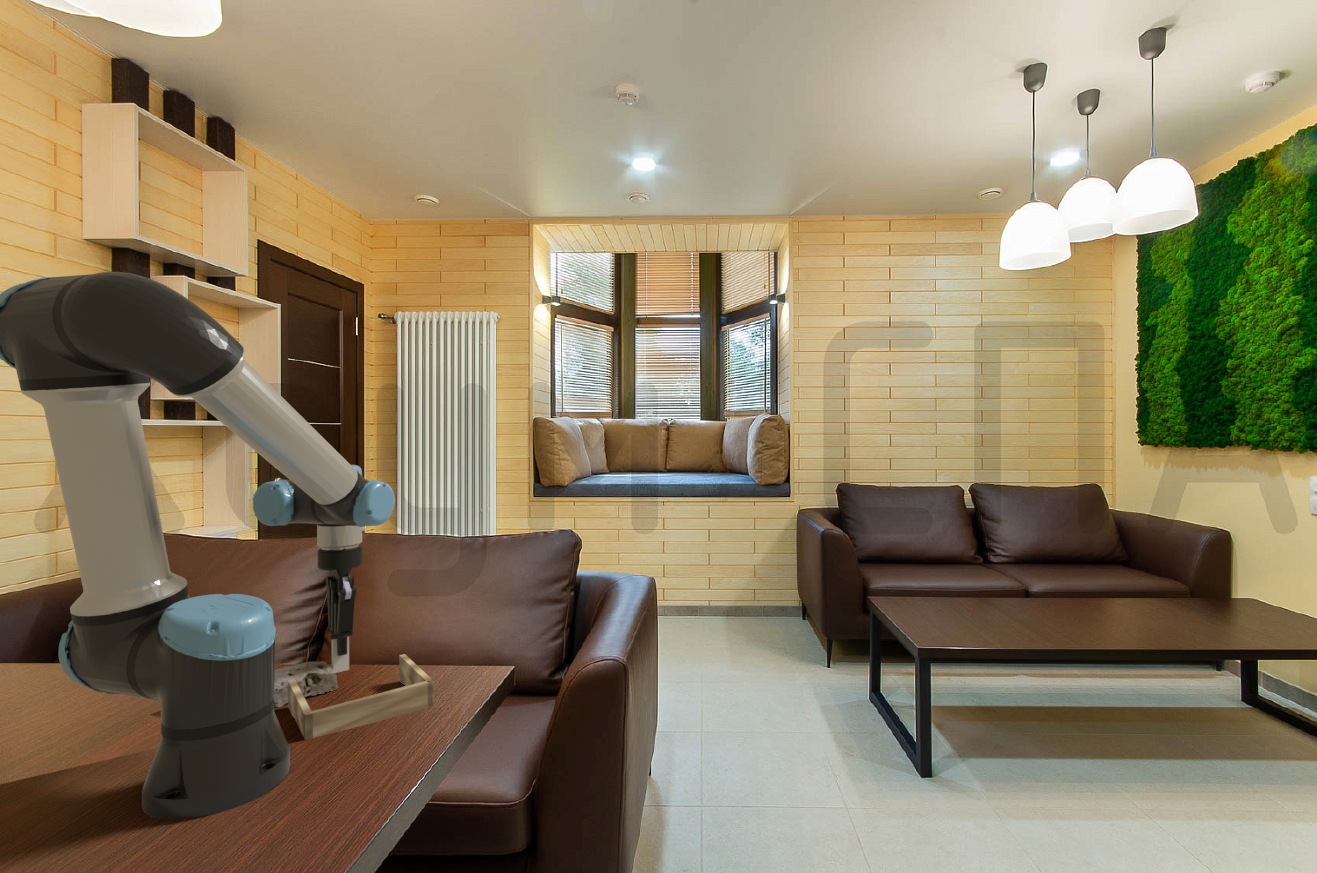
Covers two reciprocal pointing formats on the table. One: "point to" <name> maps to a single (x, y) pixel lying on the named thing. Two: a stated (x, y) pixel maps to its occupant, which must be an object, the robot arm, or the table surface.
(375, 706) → the bracket
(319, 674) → the stone
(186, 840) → the table surface
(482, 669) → the table surface
